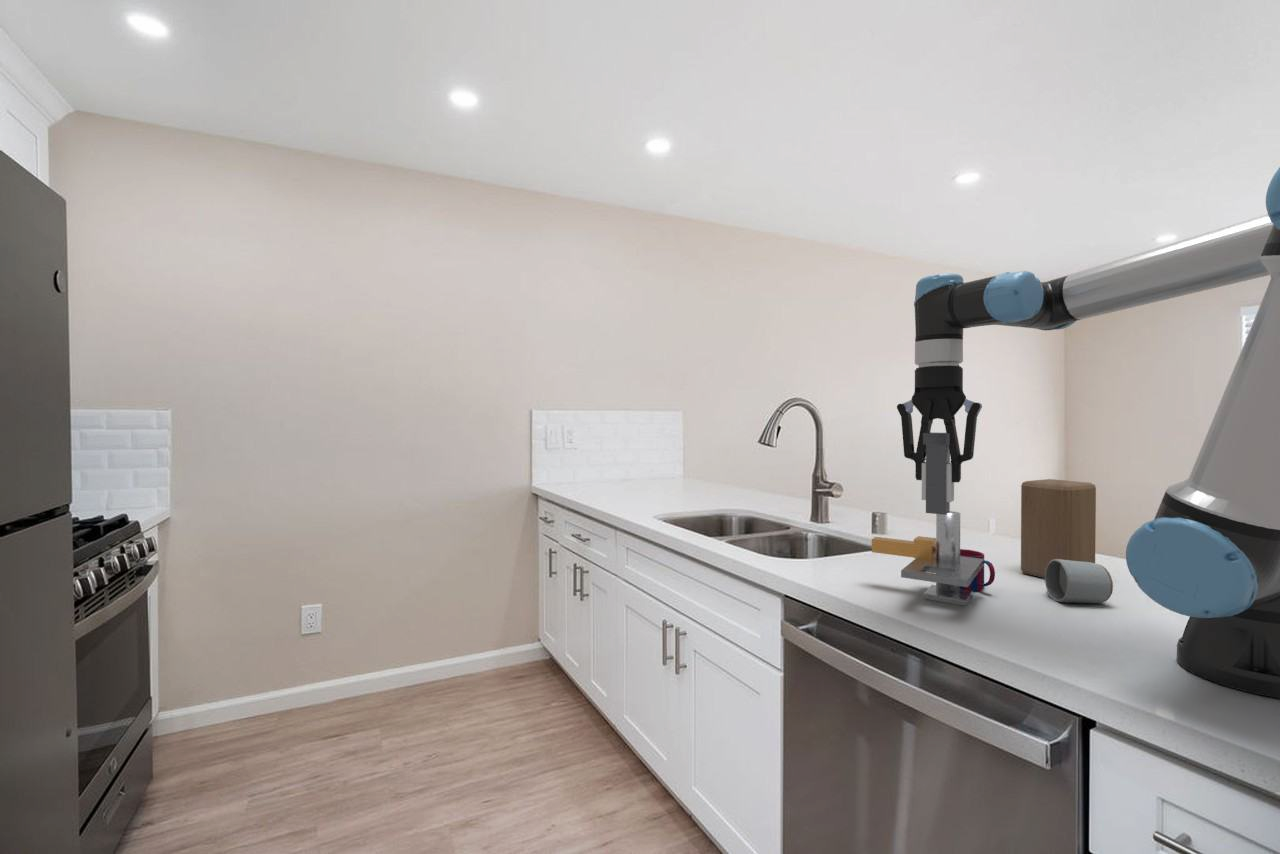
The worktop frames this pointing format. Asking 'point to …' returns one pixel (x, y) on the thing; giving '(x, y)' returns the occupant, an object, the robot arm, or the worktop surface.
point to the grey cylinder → (1077, 581)
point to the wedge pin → (936, 472)
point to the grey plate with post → (936, 560)
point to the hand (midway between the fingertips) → (937, 499)
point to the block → (1056, 523)
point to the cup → (979, 579)
